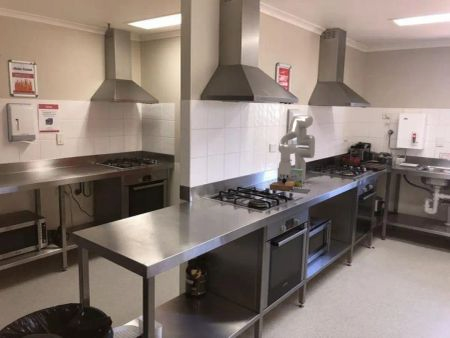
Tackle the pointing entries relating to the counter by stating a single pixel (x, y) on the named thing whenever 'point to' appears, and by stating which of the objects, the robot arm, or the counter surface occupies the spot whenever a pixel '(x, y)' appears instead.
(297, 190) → the mat
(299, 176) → the snack box
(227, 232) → the counter surface
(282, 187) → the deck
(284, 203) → the counter surface
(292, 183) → the tile
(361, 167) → the counter surface
